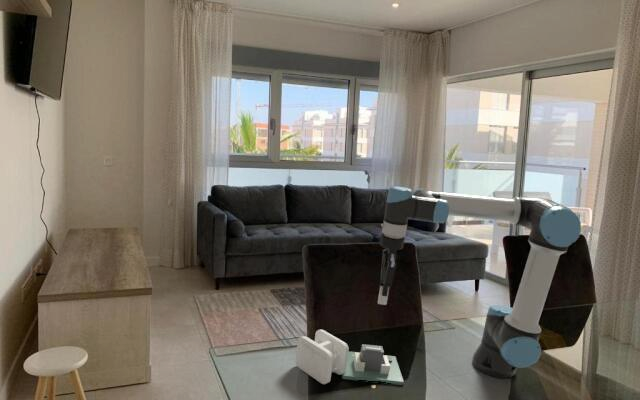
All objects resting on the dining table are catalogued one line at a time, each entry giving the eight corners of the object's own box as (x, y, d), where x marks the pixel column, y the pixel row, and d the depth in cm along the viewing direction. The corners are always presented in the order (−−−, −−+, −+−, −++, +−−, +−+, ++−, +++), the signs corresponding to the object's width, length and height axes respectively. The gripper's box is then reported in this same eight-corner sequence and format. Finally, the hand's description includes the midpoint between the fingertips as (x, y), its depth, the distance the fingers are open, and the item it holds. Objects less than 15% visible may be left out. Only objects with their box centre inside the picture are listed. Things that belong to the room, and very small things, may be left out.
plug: (378, 364, 168) (382, 344, 167) (380, 371, 164) (384, 350, 163) (358, 362, 168) (362, 342, 166) (359, 369, 164) (363, 348, 163)
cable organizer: (347, 378, 160) (352, 345, 158) (324, 389, 153) (329, 355, 151) (315, 357, 171) (319, 327, 168) (292, 366, 163) (296, 334, 161)
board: (394, 359, 176) (396, 348, 175) (403, 385, 160) (405, 373, 159) (339, 353, 175) (341, 342, 174) (342, 378, 159) (344, 367, 158)
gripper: (378, 228, 163) (368, 294, 168) (384, 239, 150) (373, 310, 155) (400, 230, 164) (389, 296, 168) (408, 242, 151) (396, 313, 156)
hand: (382, 303), depth 162 cm, fingers closed
